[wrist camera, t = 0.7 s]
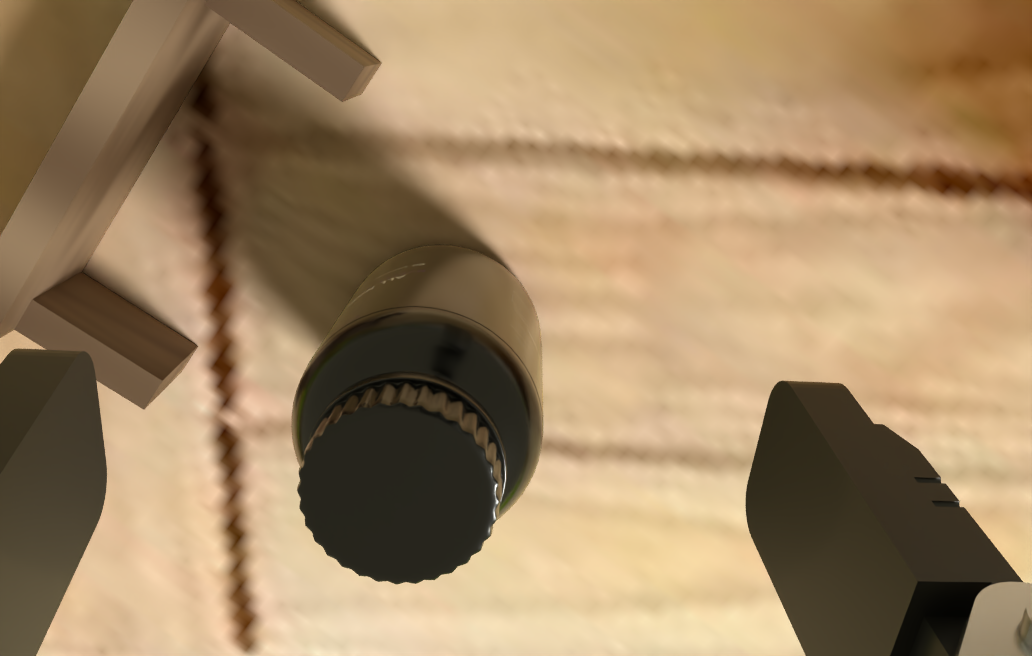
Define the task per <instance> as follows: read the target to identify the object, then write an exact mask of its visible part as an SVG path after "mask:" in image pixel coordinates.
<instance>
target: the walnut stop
mask: <svg viewBox="0 0 1032 656" xmlns="http://www.w3.org/2000/svg"><path fill="white" fill-rule="evenodd" d="M230 23H231V24H233V25H234V26H235V27H237V28H238V29H240V30H241V31H243V32H244V33H245V34H247V35H248V36H250V37H251V38H252V39H254V40H255V41H257V42H258V43H260V44H261V45H262V46H264V47H265V48H267V49H268V50H269V51H271V52H272V53H274V54H275V55H277V56H278V57H279V58H281V59H282V60H284V61H285V62H286V63H288V64H289V65H291V66H292V67H294V68H295V69H296V70H298V71H299V72H301V73H302V74H303V75H305V76H306V77H308V78H309V79H311V80H312V81H313V82H315V83H316V84H318V85H319V86H320V87H322V88H323V89H325V90H326V91H328V92H329V93H330V94H332V95H333V96H335V97H336V98H337V99H339V100H340V101H342V102H343V101H345V100H348V99H351V98H353V97H356V96H358V95H361V94H362V93H363V91H364V89H365V88H366V86H367V85H368V83H369V82H370V80H371V79H372V77H373V76H374V74H375V73H376V71H377V69H378V68H379V66H380V65H381V62H380V61H378V60H377V59H375V58H374V57H373V56H371V55H370V54H368V53H367V52H366V51H364V50H363V49H362V48H360V47H359V46H357V45H356V44H355V43H353V42H352V41H350V40H349V39H348V38H346V37H345V36H343V35H342V34H341V33H339V32H338V31H337V30H335V29H334V28H332V27H331V26H330V25H328V24H327V23H325V22H324V21H323V20H321V19H320V18H318V17H317V16H316V15H314V14H313V13H312V12H310V11H309V10H307V9H306V8H305V7H303V6H302V5H300V4H299V3H298V2H296V1H295V0H133V1H132V3H131V5H130V7H129V8H128V10H127V12H126V14H125V16H124V17H123V19H122V21H121V23H120V24H119V26H118V28H117V30H116V32H115V33H114V35H113V37H112V39H111V40H110V42H109V44H108V46H107V48H106V49H105V51H104V53H103V55H102V56H101V58H100V60H99V62H98V64H97V65H96V67H95V69H94V71H93V72H92V74H91V76H90V78H89V80H88V81H87V83H86V85H85V87H84V88H83V90H82V92H81V94H80V96H79V97H78V99H77V101H76V103H75V104H74V106H73V108H72V110H71V112H70V113H69V115H68V117H67V119H66V120H65V122H64V124H63V126H62V127H61V129H60V131H59V133H58V135H57V136H56V138H55V140H54V142H53V143H52V145H51V147H50V149H49V151H48V152H47V154H46V156H45V158H44V159H43V161H42V163H41V165H40V167H39V168H38V170H37V172H36V174H35V175H34V177H33V179H32V181H31V183H30V184H29V186H28V188H27V190H26V191H25V193H24V195H23V197H22V199H21V200H20V202H19V204H18V206H17V207H16V209H15V211H14V213H13V215H12V216H11V218H10V220H9V222H8V223H7V225H6V227H5V229H4V231H3V232H2V234H1V236H0V338H1V337H2V336H4V335H6V334H8V333H9V332H11V331H13V330H16V331H18V332H19V333H21V334H22V335H24V336H26V337H27V338H29V339H30V340H32V341H34V342H35V343H37V344H39V345H40V346H42V347H43V348H45V349H47V350H64V351H85V352H87V353H88V354H89V355H90V357H91V358H92V361H93V364H94V368H95V375H96V380H97V381H98V382H100V383H102V384H103V385H105V386H107V387H108V388H110V389H111V390H113V391H115V392H116V393H118V394H120V395H121V396H123V397H124V398H126V399H128V400H129V401H131V402H132V403H134V404H136V405H137V406H139V407H141V408H142V409H145V408H146V407H147V406H148V405H149V404H150V403H151V402H152V401H153V400H154V399H155V398H156V397H157V396H158V395H159V394H160V393H161V392H162V391H163V390H164V389H165V388H166V387H167V386H168V385H169V384H170V383H171V382H172V381H173V380H174V379H175V378H176V377H177V376H178V375H179V374H180V373H181V372H182V370H183V369H184V367H185V366H186V364H187V363H188V361H189V359H190V358H191V356H192V355H193V353H194V352H195V350H196V349H197V347H198V346H197V345H195V344H194V343H192V342H190V341H189V340H187V339H186V338H184V337H183V336H181V335H179V334H178V333H176V332H175V331H173V330H172V329H170V328H168V327H167V326H165V325H164V324H162V323H161V322H159V321H157V320H156V319H154V318H153V317H151V316H150V315H148V314H147V313H145V312H143V311H142V310H140V309H139V308H137V307H136V306H134V305H132V304H131V303H129V302H128V301H126V300H125V299H123V298H121V297H120V296H118V295H117V294H115V293H114V292H112V291H110V290H109V289H107V288H106V287H104V286H103V285H101V284H99V283H98V282H96V281H95V280H93V279H92V278H90V277H88V276H87V275H85V274H84V273H82V271H83V269H84V267H85V266H86V264H87V262H88V261H89V259H90V257H91V256H92V254H93V252H94V251H95V249H96V247H97V246H98V244H99V242H100V241H101V239H102V237H103V235H104V234H105V232H106V230H107V229H108V227H109V225H110V224H111V222H112V220H113V219H114V217H115V215H116V214H117V212H118V210H119V209H120V207H121V205H122V204H123V202H124V200H125V199H126V197H127V195H128V194H129V192H130V190H131V188H132V187H133V185H134V183H135V182H136V180H137V178H138V177H139V175H140V173H141V172H142V170H143V168H144V167H145V165H146V163H147V162H148V160H149V158H150V157H151V155H152V153H153V152H154V150H155V148H156V146H157V145H158V143H159V141H160V140H161V138H162V136H163V135H164V133H165V131H166V130H167V128H168V126H169V125H170V123H171V121H172V120H173V118H174V116H175V115H176V113H177V111H178V110H179V108H180V106H181V105H182V103H183V101H184V99H185V98H186V96H187V94H188V93H189V91H190V89H191V88H192V86H193V84H194V83H195V81H196V79H197V78H198V76H199V74H200V73H201V71H202V69H203V68H204V66H205V64H206V63H207V61H208V59H209V57H210V56H211V54H212V52H213V51H214V49H215V47H216V46H217V44H218V42H219V41H220V39H221V37H222V36H223V34H224V32H225V31H226V29H227V27H228V26H229V24H230Z"/></svg>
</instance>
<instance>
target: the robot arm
mask: <svg viewBox="0 0 1032 656" xmlns="http://www.w3.org/2000/svg"><path fill="white" fill-rule="evenodd" d="M106 483H107V467H106V457H105V449H104V441H103V432H102V424H101V416H100V408H99V399H98V391H97V383H96V375H95V368H94V364H93V361H92V358H91V357H90V355H89V354H88V353H87V352H85V351H64V350H39V349H14V350H12V351H11V352H10V353H9V354H8V355H7V357H6V358H5V359H4V360H3V362H2V363H1V364H0V656H36V655H37V652H38V650H39V648H40V646H41V644H42V642H43V640H44V637H45V635H46V633H47V631H48V629H49V627H50V624H51V622H52V620H53V618H54V616H55V614H56V612H57V609H58V607H59V605H60V603H61V601H62V599H63V597H64V594H65V592H66V590H67V588H68V586H69V584H70V582H71V579H72V577H73V575H74V573H75V571H76V569H77V567H78V564H79V562H80V560H81V558H82V556H83V554H84V551H85V549H86V547H87V545H88V543H89V541H90V539H91V536H92V534H93V532H94V530H95V528H96V526H97V524H98V521H99V519H100V516H101V513H102V509H103V505H104V500H105V493H106ZM959 502H960V501H959V500H958V499H957V498H956V496H955V495H954V494H953V492H952V491H951V490H950V489H949V487H948V486H947V485H946V484H943V483H941V477H940V476H939V475H938V473H937V472H936V471H935V470H934V468H933V467H932V466H931V465H930V463H929V462H928V461H927V459H926V458H925V457H924V456H923V454H922V453H921V452H920V451H919V449H917V448H916V447H914V446H913V445H911V444H910V443H909V442H907V441H906V440H904V439H903V438H902V437H900V436H899V435H897V434H896V433H895V432H893V431H892V430H890V429H889V428H887V427H886V426H885V425H883V424H873V422H872V421H871V420H870V418H869V417H868V415H867V414H866V413H865V411H864V410H863V409H862V407H861V406H860V405H859V403H858V402H857V401H856V399H855V398H854V397H853V395H852V394H851V393H850V391H849V390H848V389H847V388H846V387H845V386H844V385H843V384H840V383H824V382H798V381H780V382H778V383H777V384H776V385H775V386H774V388H773V390H772V392H771V394H770V397H769V400H768V404H767V408H766V412H765V416H764V420H763V424H762V428H761V432H760V436H759V440H758V444H757V448H756V452H755V456H754V460H753V464H752V468H751V472H750V476H749V480H748V484H747V491H746V517H747V523H748V528H749V531H750V534H751V537H752V539H753V541H754V544H755V546H756V548H757V550H758V552H759V554H760V557H761V559H762V561H763V563H764V565H765V568H766V570H767V572H768V574H769V576H770V578H771V581H772V583H773V585H774V587H775V589H776V592H777V594H778V596H779V598H780V600H781V602H782V605H783V607H784V609H785V611H786V613H787V616H788V618H789V620H790V622H791V624H792V626H793V629H794V631H795V633H796V635H797V637H798V640H799V642H800V644H801V646H802V648H803V650H804V653H805V655H806V656H1032V584H1030V583H1024V582H1023V581H1022V580H1021V579H1020V577H1019V576H1018V575H1017V574H1016V572H1015V571H1014V570H1013V569H1012V567H1011V566H1010V565H1009V563H1008V562H1007V561H1006V560H1005V558H1004V557H1003V556H1002V555H1001V553H1000V552H999V551H998V549H997V548H996V547H995V546H994V544H993V543H992V542H991V541H990V539H989V538H988V537H987V536H986V534H985V533H984V532H983V530H982V529H981V528H980V527H979V525H978V524H977V523H976V522H975V520H974V519H973V518H972V517H971V515H970V514H969V513H968V511H967V510H966V509H965V508H964V507H960V506H959Z"/></svg>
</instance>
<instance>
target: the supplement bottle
mask: <svg viewBox="0 0 1032 656" xmlns="http://www.w3.org/2000/svg"><path fill="white" fill-rule="evenodd" d="M291 427H292V439H293V445H294V450H295V453H296V457H297V460H298V463H299V465H300V468H299V477H300V482H299V485H298V487H297V491H298V494H299V496H300V498H301V501H300V510H301V511H302V513H303V514H304V516H305V525H306V526H307V528H308V529H310V530H311V531H312V532H313V537H314V540H315V542H317V543H318V544H319V545H321V546H322V547H323V548H324V550H325V552H326V554H327V555H328V556H330V557H332V558H335V559H337V561H338V562H339V563H340V565H341V566H342V567H345V568H349V569H352V570H353V571H354V572H355V573H357V574H358V575H359V576H368V577H371V578H372V579H374V580H376V581H378V582H380V581H389V582H391V583H394V584H401V583H403V582H409V583H415V584H416V583H419V582H421V581H423V580H435V579H436V578H438V577H439V576H440V575H442V574H449V573H452V572H453V571H454V570H455V569H456V568H457V566H460V565H463V564H466V563H468V561H469V560H470V558H471V556H472V555H474V554H476V553H477V552H479V551H481V549H482V546H483V543H484V541H485V540H486V539H488V538H489V537H490V536H491V534H492V530H493V524H494V523H495V521H496V520H498V519H499V518H500V517H501V516H503V515H504V514H505V513H506V512H507V511H508V510H509V509H510V508H511V507H512V506H513V505H514V504H515V503H516V502H517V500H518V499H519V498H520V496H521V495H522V494H523V492H524V491H525V489H526V487H527V486H528V484H529V482H530V480H531V478H532V476H533V474H534V472H535V469H536V466H537V463H538V460H539V456H540V451H541V445H542V437H543V382H542V344H541V332H540V325H539V320H538V317H537V314H536V311H535V308H534V305H533V303H532V301H531V299H530V297H529V295H528V293H527V292H526V290H525V289H524V287H523V286H522V285H521V283H520V282H519V281H518V280H517V279H516V277H515V276H514V275H513V274H512V273H511V272H510V271H508V270H507V269H506V268H505V267H504V266H502V265H501V264H500V263H498V262H496V261H495V260H493V259H492V258H490V257H488V256H486V255H484V254H482V253H479V252H477V251H474V250H471V249H468V248H464V247H459V246H451V245H429V246H422V247H417V248H414V249H410V250H407V251H405V252H402V253H400V254H397V255H396V256H394V257H392V258H390V259H388V260H387V261H385V262H384V263H382V264H381V265H380V266H379V267H377V268H376V269H375V270H374V271H373V272H372V273H371V274H370V275H369V276H368V277H367V278H366V279H365V280H364V282H363V283H362V284H361V285H360V287H359V288H358V289H357V291H356V292H355V294H354V295H353V297H352V298H351V300H350V301H349V303H348V304H347V306H346V307H345V309H344V310H343V312H342V313H341V315H340V316H339V318H338V319H337V321H336V322H335V324H334V325H333V327H332V328H331V330H330V332H329V333H328V335H327V336H326V338H325V339H324V341H323V342H322V344H321V345H320V347H319V348H318V350H317V351H316V353H315V354H314V356H313V357H312V359H311V361H310V362H309V364H308V366H307V368H306V370H305V372H304V374H303V376H302V378H301V380H300V383H299V385H298V388H297V391H296V394H295V398H294V402H293V409H292V424H291Z"/></svg>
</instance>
